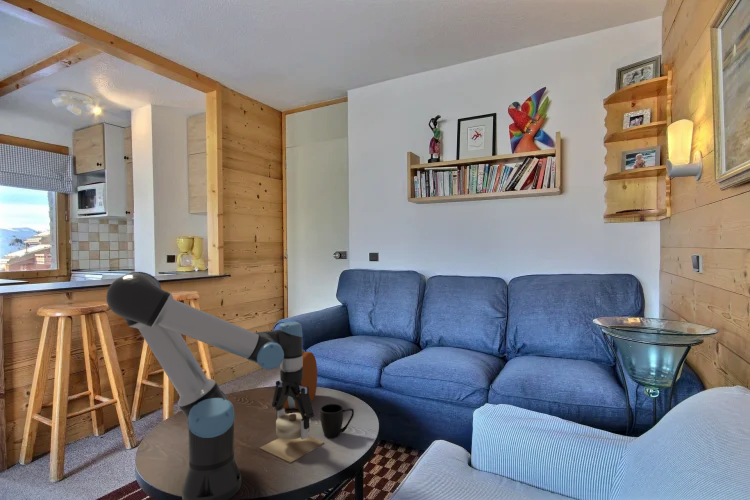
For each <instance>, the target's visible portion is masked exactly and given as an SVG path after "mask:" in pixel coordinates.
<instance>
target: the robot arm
mask: <svg viewBox="0 0 750 500" xmlns="http://www.w3.org/2000/svg"><path fill="white" fill-rule="evenodd" d="M105 297H106V302H107V306H108V308H109V309H110V310H111V312H113V313H114V314H116V315H117V316H119V317H121V318H123V319H124V320H125V322H126V324H127V325H128V327H129V328H134V329H138V331H139V333H140V334H141V336H142V338H143V339H144V340H145V342H146V345H148V347H149V349H150V350H151V352H152V353H153V355H154V357H155V358H156V360H157V361H158V364H159V365H160V367H161V368H162V369H163V371H164V373H165V374H166V376H167V377H168V379H169V381H170V383H171V385H172V386H173V387H174V390H176V393H177V394H178V395H179V399H178V402H177V405H178V407H179V408H180V410H181V412H182V413H183V415H184V417H185V418H186V420H187V425H188V426H187V427H188V469H187V471H186V474H185V475H186V476H185V478H184V482H183V484H182V487H181V488H182V490H181V499H182V500H230V499H231V498H233V497H235V495H236V494H237V493H238V492H239V491H240V489H241V487H242V474H241V473H242V472H240V468H239V466H238V463H237V460H236V458H235V416H236V414H235V409H234V404H233V402H231V401H230V400H229V399H228V396H226V395H227V394H226V393H225V392H224V391H223V390H221V389H220V387H219V385H218V384H217V382H216V381H215V379H210V378H208V377H207V376H206V374H205V372H204V370H203V368H202V367H201V365H200V364H199V362H198V361H197V359H196V357H195V355H194V354H193V352H192V350H191V349H190V347H189V345H188V343H187V342H186V341H185V339H184V337H183V336H185V337H188V338H191V339H193V340H196V341H199V342H201V343H204V344H207V345H209V346H212V347H215V348H218V349H219V350H223V351H224V352H228V353H231V354H232V355H235V356H238V357H240V358H243V359H246V360H249V361H251V362H253V363H256V364H258V365H259V366H260V367H261V368H263V369H265V370H268V371H270V370H274V369H276V368H278V367H279V369H280V370H279V376H280V379H278V380H277V381H275V389H274V390H275V391H274V395H273V398H272V403H271V407H272V408H275V410H276V420H277V419H278V418H279V417H281V416H283V415H285V414H286V412H285V411H286V409H284V408H283V406H284V404H285V402H286V400H287V398H288V396H290V397H292V398H293V400H294V401H296V404H297V406H298V409H299V413H300V414H301V416H302V419H301V439H302V440H303V439H305V438H307V437H308V436H309V435H310V434H309V432H310V419H312V418H314V417H315V412H314V409H313V405H312V401H311V400H310V396H309V387H308V386H307V387H303V386H302V384H301V381H302V379H303V368H302V366H303V356H302V350H303V327H302V324H301V323H300V322H297V321H286V322H281V323H280V324H279V327H278V329H276V330H275V329H274V330H269V331H268V330H267V331H258V332H253V331H252V330H248V329H246V328H244V327H241V326H240V325H239V326H238V325H236V324H234V323H232V322H229V321H227V320H224V319H222V318H219V317H217V316H216V315H213V314H211V313H208V312H205V311H203V310H201V309H198V308H195V307H194V306H192V305H189V304H186V303H184V302H182V301H179V300H176V299H175V298H174V297H173V294H172V293H170V292H169V291H165V290H164V289H163V288H162V286H161V284H160V282H159V280H158V279H157V278H156V277H155V276H153V275H152V274H150V273H148V272H145V271H132V272H129V273H126V274H124V275H122V276H121V277H118V278H116V280H114V281H113V282H112V283H111V284H110V285H109V287H108V289H107V290H106V296H105ZM298 395H299V396H298ZM296 396H298V397H296ZM305 414H306V415H305ZM308 428H309V430H308ZM309 437H310V436H309Z"/></svg>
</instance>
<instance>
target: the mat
mask: <svg viewBox="0 0 750 500" xmlns="http://www.w3.org/2000/svg"><path fill="white" fill-rule="evenodd" d="M324 443H325V442H324V441H322V440H319V439H316V438H315V437H312V436H308V437H307V438H305V439H303V440H302V439H301V438H297V439H291V440H287V439H281V438H279V437H278V438H276V439H274V440H272V441H270V442H268V443H265V444H264V445H262V446H260V447H259V449H260V451H263V452H265V453H268V454H270V455H272V456H274V457H276V458H279V459H280V460H282V461H284V462H287V463H289V464H291V463H293V462H295V461H297V460H298V459H300V458H301V457H303V456H305V455H307V454H308V453H310V452H312V451H313V450H315V449H316V448H317V449H318V448H319V447H321V445H323V444H324Z"/></svg>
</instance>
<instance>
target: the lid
mask: <svg viewBox="0 0 750 500" xmlns="http://www.w3.org/2000/svg"><path fill="white" fill-rule="evenodd" d="M305 415H306V414H305ZM301 419H302V416H301V414H300V412H292V413H290V412H289V413H285V415H283V416H281V417H279V418H278V419H277V418H276V420H275V434H276V436H277V437H278V438H281V439H287V440H291V439H297V438H301ZM308 430H309V431H310V427H309V428H308Z"/></svg>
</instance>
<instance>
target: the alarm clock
mask: <svg viewBox="0 0 750 500" xmlns="http://www.w3.org/2000/svg"><path fill="white" fill-rule="evenodd" d="M314 354H315V353H313V352H311V351H305V349H302V356H303V366H302V368H303V379H302V381H301V384H302V386H303V387H307V386H308V387H309V396H310V400H311V402H313V400H314V399H315V397H316V392H317V387H318V366H317V365H318V364H317V360H316V357H315V355H314ZM298 396H299V395H298ZM298 396H296V397H298ZM283 408H284V409H285V410H292V409H296V410H297V411H298V410H299V409H298V406H297V404H296V401H294V400H293V398H292V397H290V396H288V398H287V400H286V402H285V404H284V406H283ZM283 408H282V409H283Z"/></svg>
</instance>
